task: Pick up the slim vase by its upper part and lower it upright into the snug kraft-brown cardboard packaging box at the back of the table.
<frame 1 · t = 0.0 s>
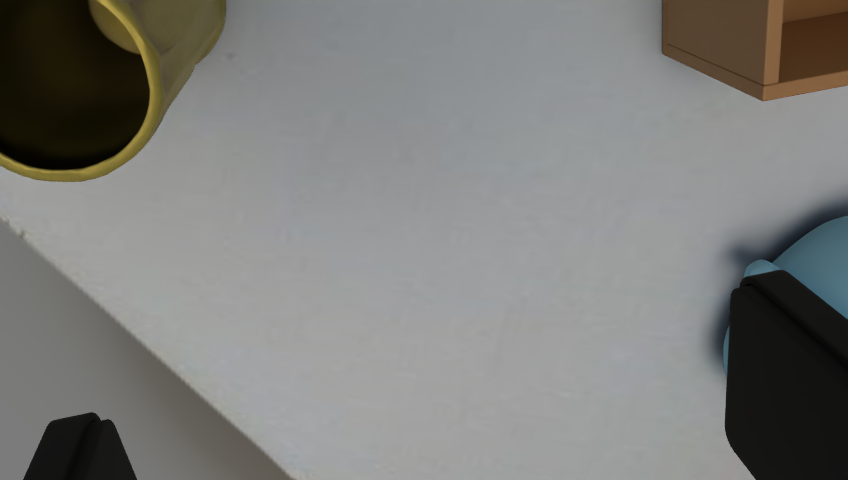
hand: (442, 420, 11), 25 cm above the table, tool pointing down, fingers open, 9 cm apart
teapot: (828, 315, 44), on the table
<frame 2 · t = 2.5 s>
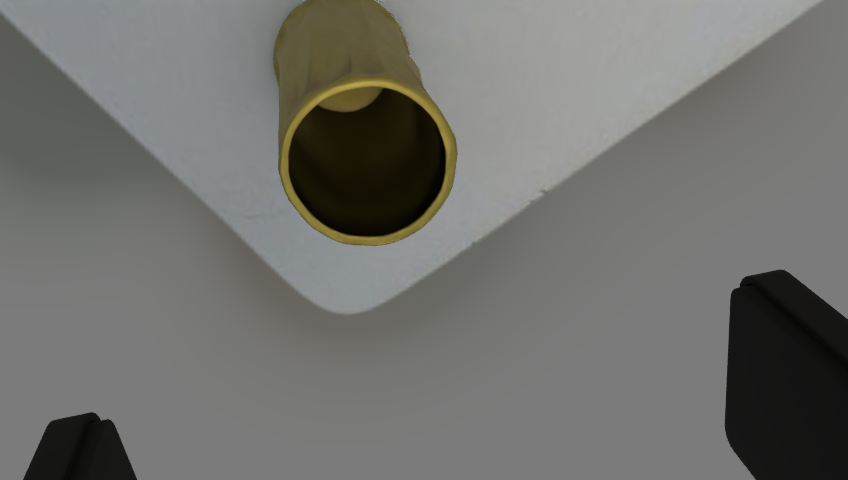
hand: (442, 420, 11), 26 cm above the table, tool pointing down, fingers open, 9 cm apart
vase: (341, 60, 35), on the table
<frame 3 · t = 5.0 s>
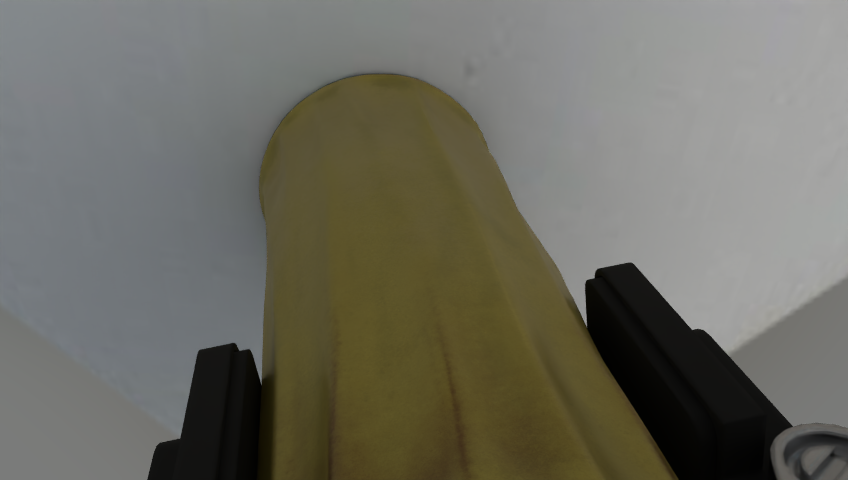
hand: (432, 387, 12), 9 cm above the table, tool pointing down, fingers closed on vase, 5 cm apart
vase: (376, 184, 20), on the table, touching gripper
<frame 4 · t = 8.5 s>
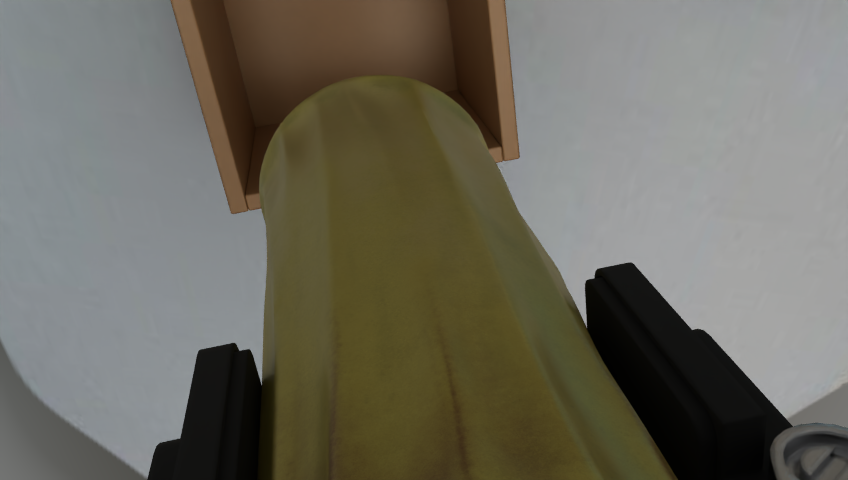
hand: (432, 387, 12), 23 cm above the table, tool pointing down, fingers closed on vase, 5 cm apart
vase: (376, 185, 20), point 14 cm above the table, touching gripper
package: (337, 0, 32), on the table
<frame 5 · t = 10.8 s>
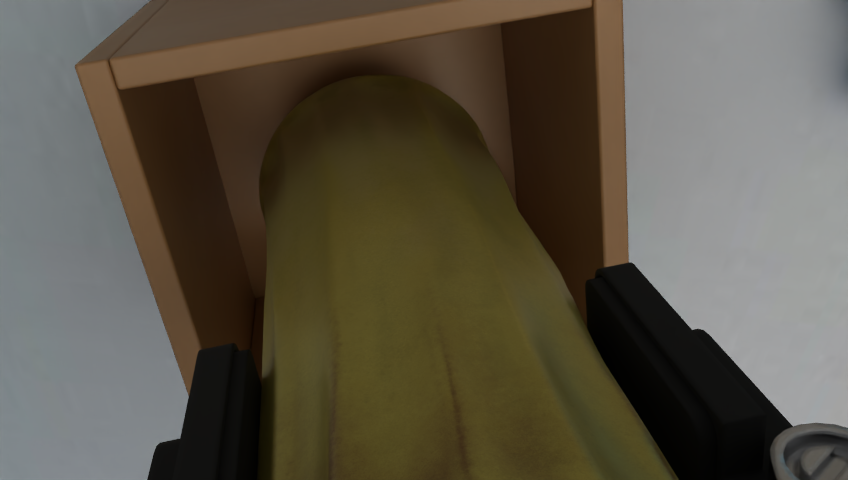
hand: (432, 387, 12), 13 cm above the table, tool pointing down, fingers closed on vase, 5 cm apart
vase: (376, 184, 20), point 4 cm above the table, touching gripper
package: (365, 138, 24), on the table
when the fingers open (9 cm above the table, at t = 12.2 s): vase stays where it is, resting on package.
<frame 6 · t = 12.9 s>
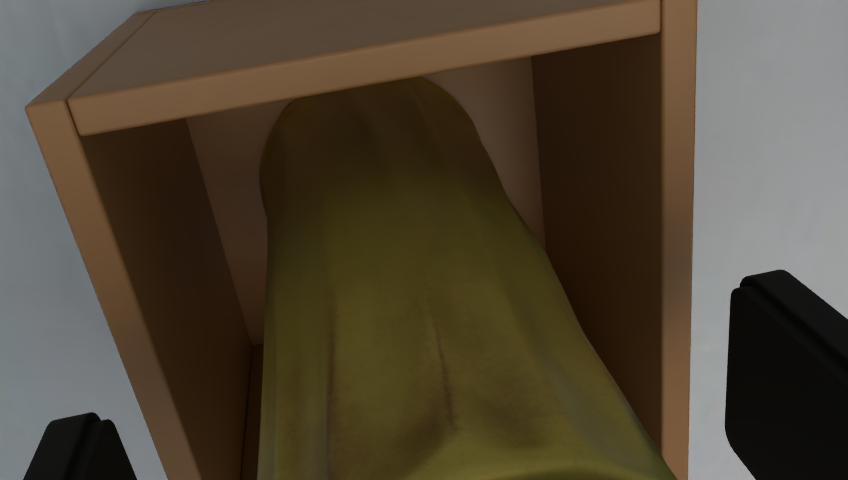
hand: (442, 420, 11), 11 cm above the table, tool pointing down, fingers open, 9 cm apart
vase: (373, 176, 21), resting on package
package: (375, 168, 21), on the table
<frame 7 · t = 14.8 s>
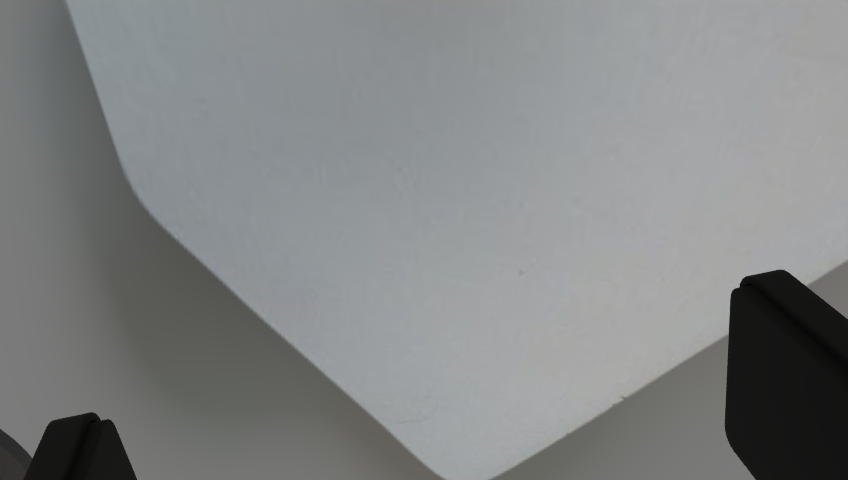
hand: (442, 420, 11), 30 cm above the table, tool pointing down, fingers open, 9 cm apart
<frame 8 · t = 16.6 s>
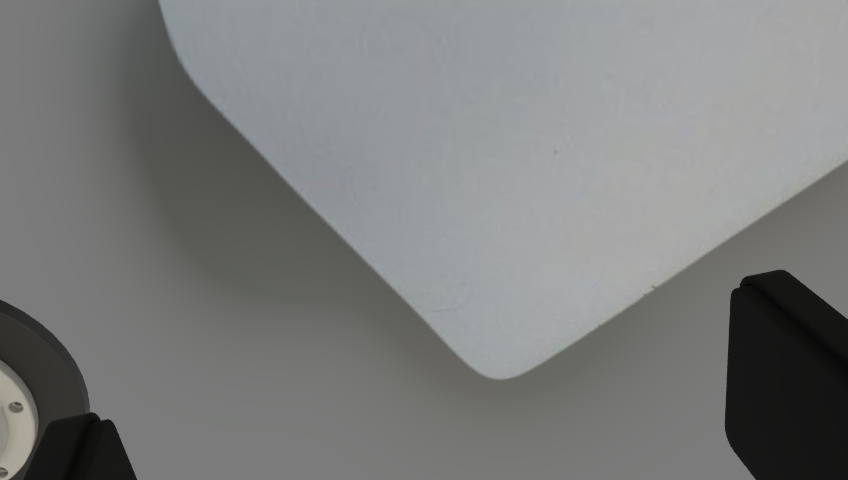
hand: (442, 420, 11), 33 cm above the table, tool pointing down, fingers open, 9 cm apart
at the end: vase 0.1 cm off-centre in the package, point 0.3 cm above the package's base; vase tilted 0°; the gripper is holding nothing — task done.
